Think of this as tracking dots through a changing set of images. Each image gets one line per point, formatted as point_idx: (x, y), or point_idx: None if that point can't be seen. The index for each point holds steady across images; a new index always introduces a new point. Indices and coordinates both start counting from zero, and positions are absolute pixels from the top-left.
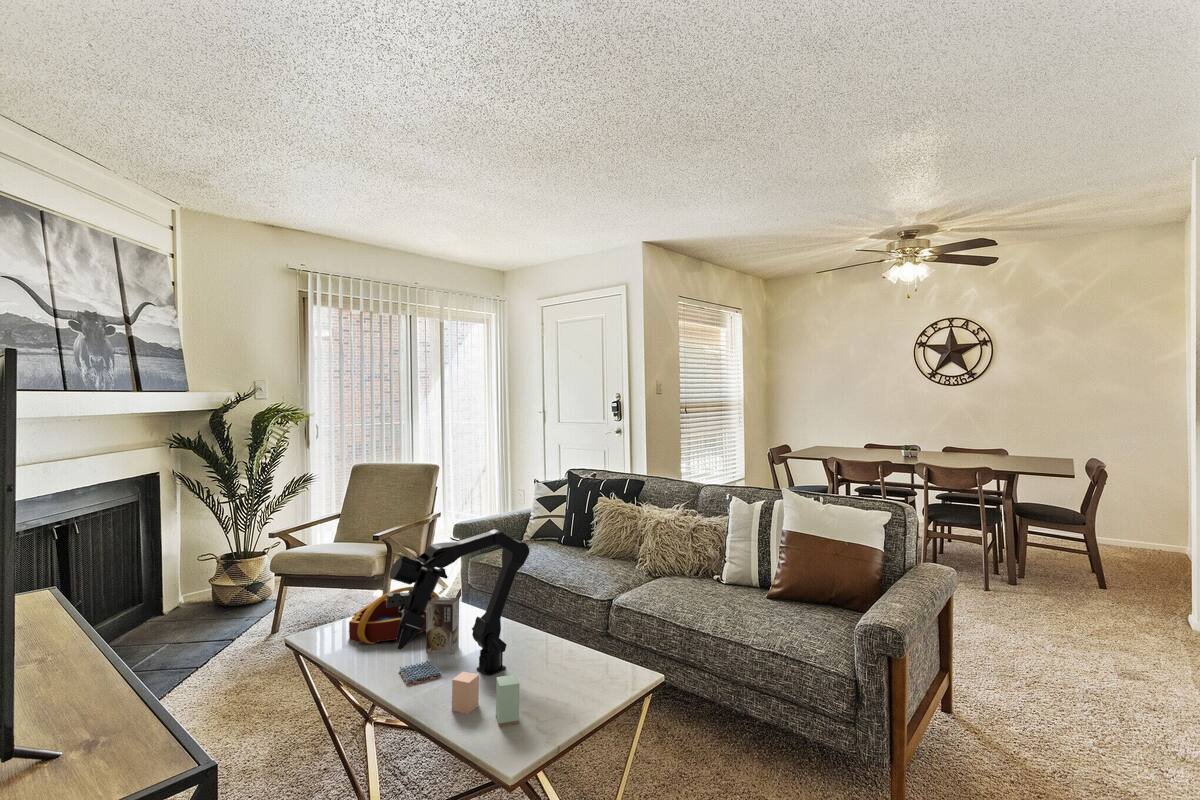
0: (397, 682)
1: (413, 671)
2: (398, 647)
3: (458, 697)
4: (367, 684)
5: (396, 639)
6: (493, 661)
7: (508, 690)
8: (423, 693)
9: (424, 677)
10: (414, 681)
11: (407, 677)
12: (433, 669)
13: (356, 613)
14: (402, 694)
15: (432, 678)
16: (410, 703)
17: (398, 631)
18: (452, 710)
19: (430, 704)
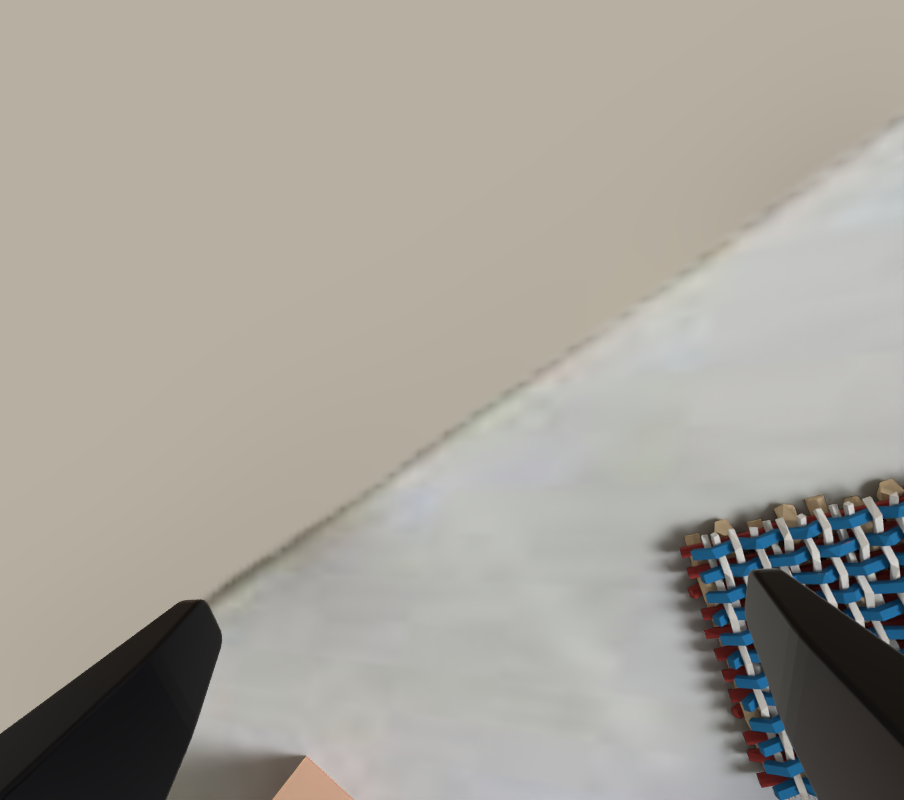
0: (766, 460)
1: (873, 594)
2: (165, 622)
3: None
4: (791, 237)
5: (753, 575)
6: None
7: None
8: (538, 629)
9: (755, 665)
10: (706, 587)
11: (753, 543)
12: None
13: None
14: (557, 499)
15: (745, 717)
16: (428, 546)
17: (851, 688)
18: (305, 758)
19: (391, 656)
